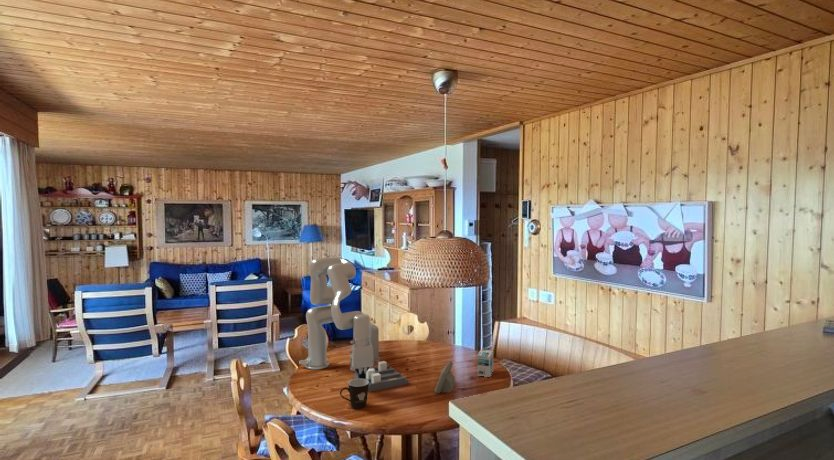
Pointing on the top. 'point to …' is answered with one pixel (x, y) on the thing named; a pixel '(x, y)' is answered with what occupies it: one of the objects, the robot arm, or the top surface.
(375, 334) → the network device
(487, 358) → the light bulb box
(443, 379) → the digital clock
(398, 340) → the top surface
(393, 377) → the switch panel
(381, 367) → the far tab
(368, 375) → the middle tab
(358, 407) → the coffee mug
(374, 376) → the near tab
